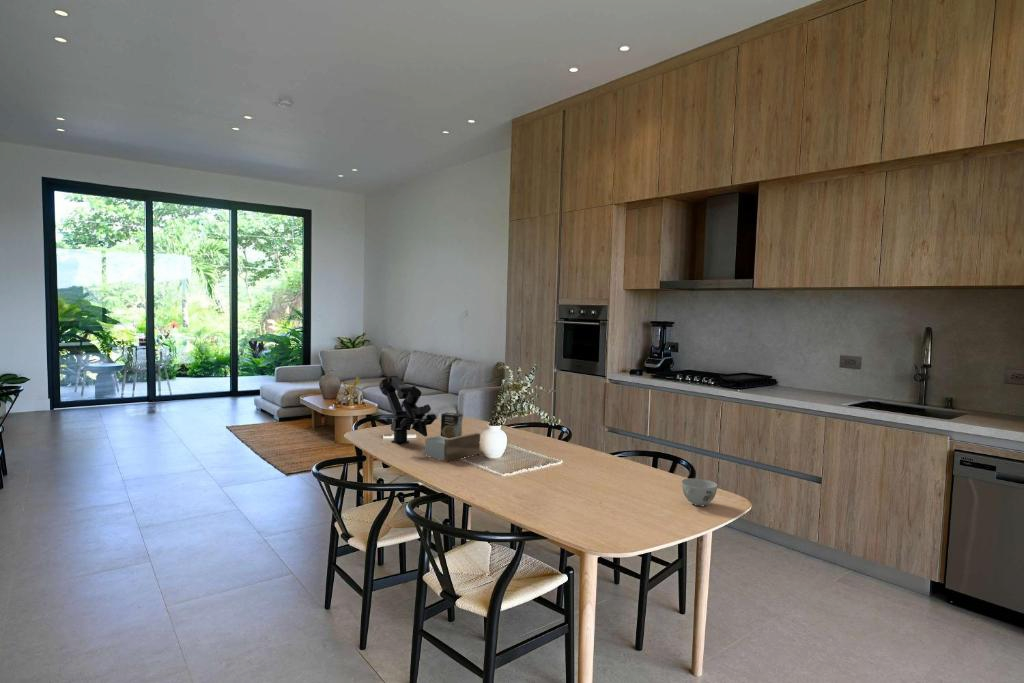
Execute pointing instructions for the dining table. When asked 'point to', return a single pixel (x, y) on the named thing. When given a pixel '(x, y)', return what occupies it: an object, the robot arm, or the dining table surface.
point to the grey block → (435, 447)
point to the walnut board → (461, 447)
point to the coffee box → (451, 425)
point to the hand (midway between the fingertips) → (426, 436)
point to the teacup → (699, 490)
